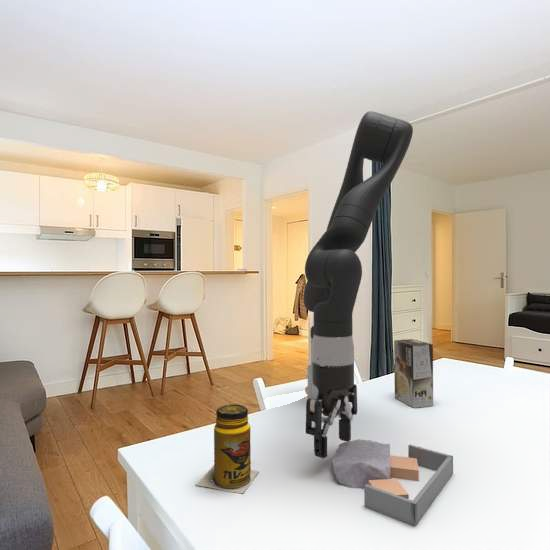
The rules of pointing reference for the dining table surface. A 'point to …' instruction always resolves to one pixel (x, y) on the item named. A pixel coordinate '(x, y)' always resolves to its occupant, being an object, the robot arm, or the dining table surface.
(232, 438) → the condiment
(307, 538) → the dining table surface
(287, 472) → the dining table surface
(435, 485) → the frame
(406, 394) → the coffee box
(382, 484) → the tile
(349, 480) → the stone block
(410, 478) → the tile
